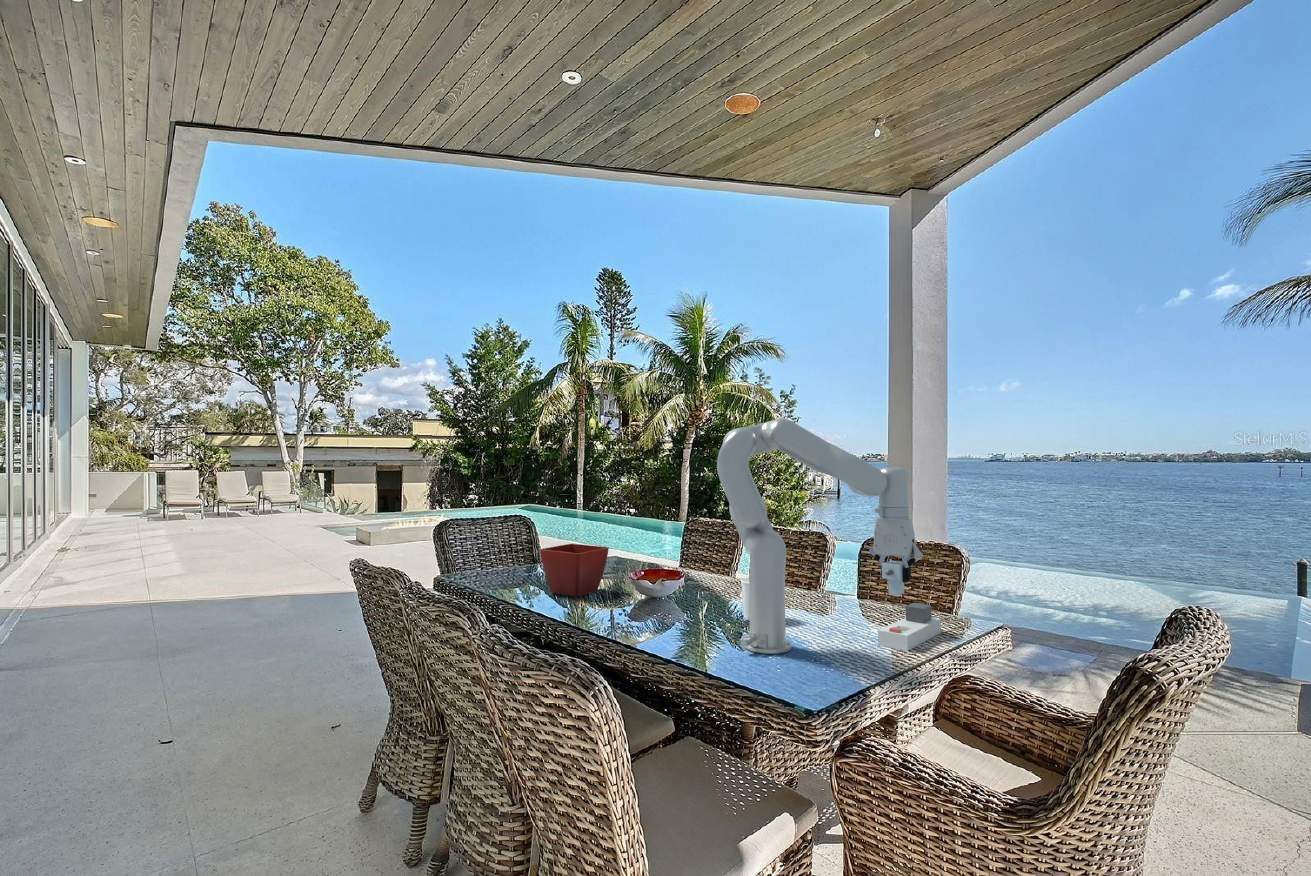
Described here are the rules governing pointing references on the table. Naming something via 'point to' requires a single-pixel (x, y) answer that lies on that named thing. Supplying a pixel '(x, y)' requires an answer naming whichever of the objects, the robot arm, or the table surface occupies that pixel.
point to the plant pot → (574, 568)
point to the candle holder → (746, 598)
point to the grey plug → (893, 576)
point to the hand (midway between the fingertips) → (896, 579)
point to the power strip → (908, 633)
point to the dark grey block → (918, 612)
